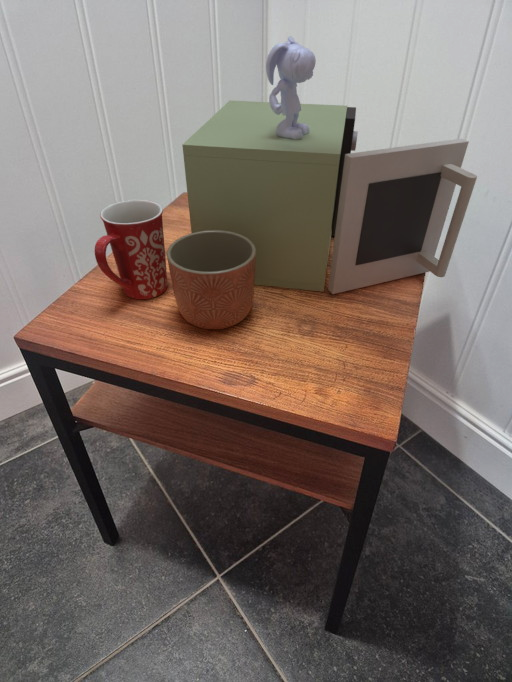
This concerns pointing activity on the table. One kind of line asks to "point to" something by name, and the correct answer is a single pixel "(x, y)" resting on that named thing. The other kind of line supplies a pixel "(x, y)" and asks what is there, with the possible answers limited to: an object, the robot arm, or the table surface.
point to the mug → (134, 247)
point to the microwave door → (398, 213)
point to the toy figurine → (289, 84)
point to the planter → (213, 277)
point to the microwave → (272, 185)
